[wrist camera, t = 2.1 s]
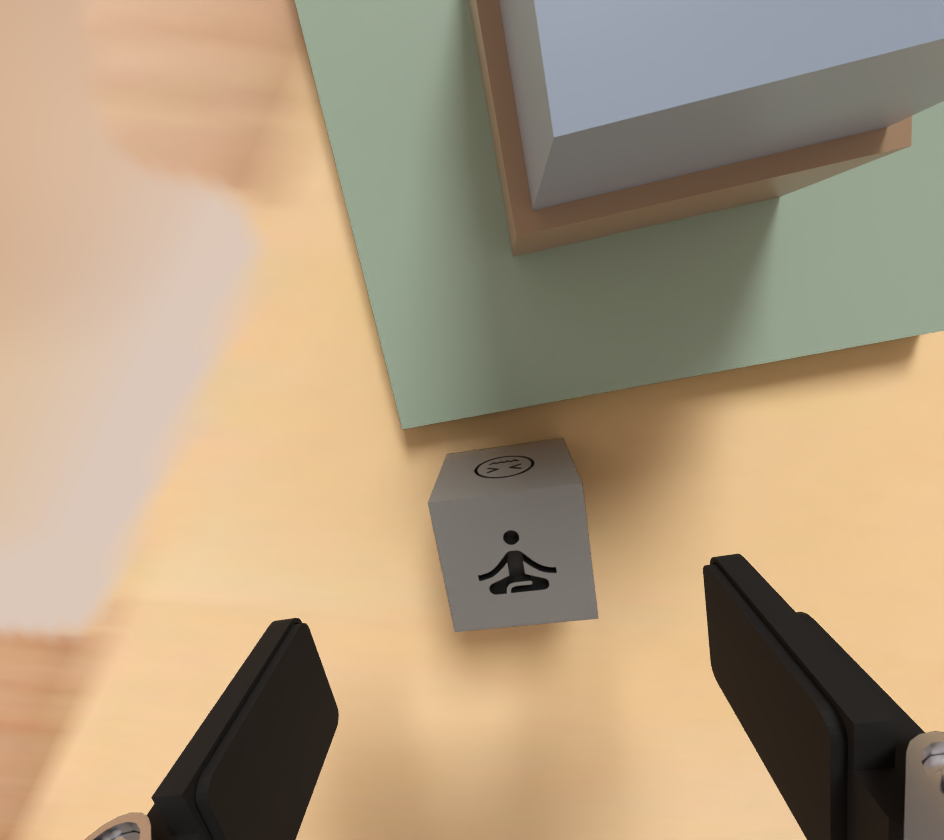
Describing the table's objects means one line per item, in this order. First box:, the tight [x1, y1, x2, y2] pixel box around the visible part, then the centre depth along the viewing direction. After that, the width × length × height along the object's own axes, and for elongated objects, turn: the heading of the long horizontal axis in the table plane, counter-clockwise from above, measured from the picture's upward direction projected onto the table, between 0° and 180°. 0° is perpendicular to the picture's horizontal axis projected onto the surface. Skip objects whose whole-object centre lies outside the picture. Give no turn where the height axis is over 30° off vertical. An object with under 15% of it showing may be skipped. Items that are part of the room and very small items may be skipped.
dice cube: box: [428, 438, 598, 632], centre depth 17 cm, size 5×5×5 cm
